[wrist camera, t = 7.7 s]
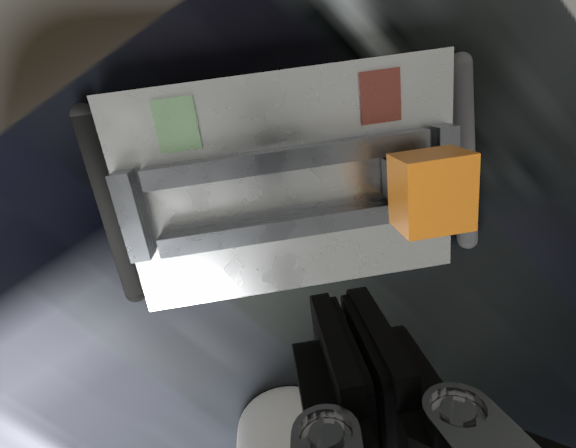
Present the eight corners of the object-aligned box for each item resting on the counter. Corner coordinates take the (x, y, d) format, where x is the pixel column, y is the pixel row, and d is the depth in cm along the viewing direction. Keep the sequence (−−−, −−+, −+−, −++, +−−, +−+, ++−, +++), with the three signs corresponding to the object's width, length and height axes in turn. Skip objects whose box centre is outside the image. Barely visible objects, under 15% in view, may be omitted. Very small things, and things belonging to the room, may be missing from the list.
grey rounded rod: (471, 242, 29) (482, 249, 28) (453, 246, 29) (463, 253, 28) (464, 50, 25) (477, 48, 23) (443, 55, 25) (454, 53, 23)
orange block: (428, 199, 25) (477, 231, 20) (374, 208, 25) (408, 241, 20) (428, 137, 24) (480, 153, 19) (370, 146, 24) (407, 164, 18)
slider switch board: (437, 252, 29) (461, 273, 26) (156, 296, 28) (144, 324, 25) (438, 49, 24) (467, 43, 21) (99, 94, 23) (75, 96, 20)
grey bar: (150, 293, 28) (146, 304, 27) (131, 297, 28) (125, 307, 27) (95, 100, 24) (86, 101, 22) (72, 104, 24) (61, 105, 22)
